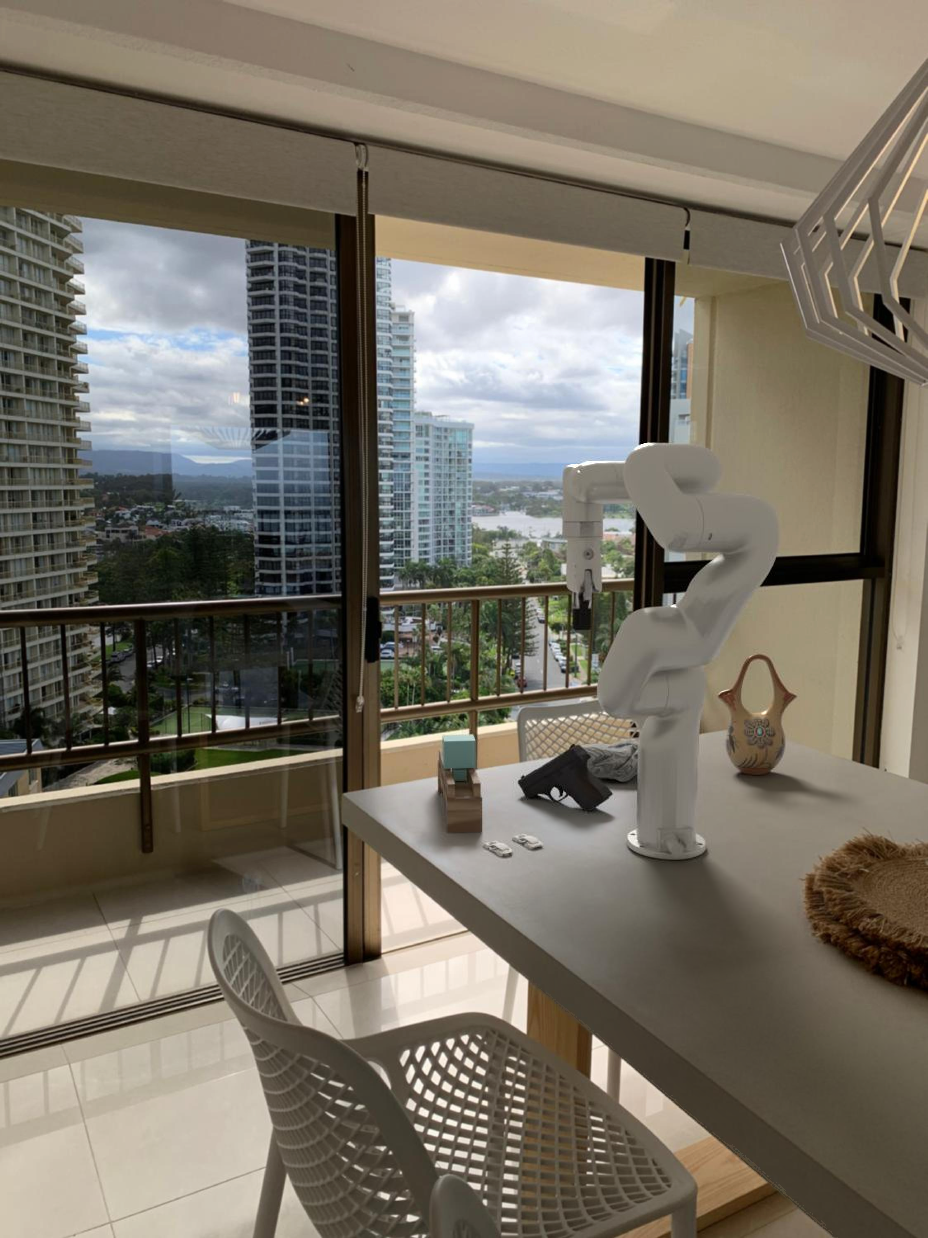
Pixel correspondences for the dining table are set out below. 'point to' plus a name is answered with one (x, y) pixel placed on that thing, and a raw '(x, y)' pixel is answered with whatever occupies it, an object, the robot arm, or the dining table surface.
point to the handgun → (567, 780)
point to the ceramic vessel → (756, 725)
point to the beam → (460, 799)
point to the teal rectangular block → (459, 754)
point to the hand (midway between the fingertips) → (581, 629)
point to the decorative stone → (613, 759)
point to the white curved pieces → (505, 849)
